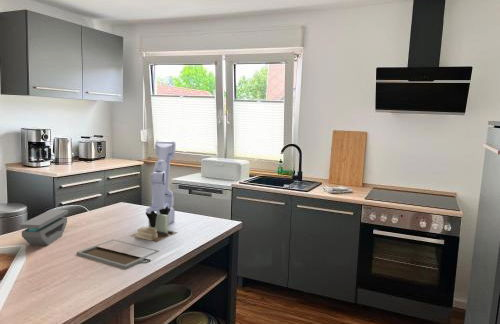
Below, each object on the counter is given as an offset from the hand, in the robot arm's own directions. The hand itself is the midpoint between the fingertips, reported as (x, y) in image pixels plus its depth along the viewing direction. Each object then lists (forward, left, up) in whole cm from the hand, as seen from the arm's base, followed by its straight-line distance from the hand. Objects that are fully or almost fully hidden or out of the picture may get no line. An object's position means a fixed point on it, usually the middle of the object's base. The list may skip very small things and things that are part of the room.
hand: (158, 224), depth 182 cm
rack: (+3, 0, -5) cm, 6 cm away
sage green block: (0, 0, -4) cm, 4 cm away
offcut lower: (+8, 0, -4) cm, 9 cm away
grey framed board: (+28, +4, -6) cm, 29 cm away
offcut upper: (+8, 0, -2) cm, 8 cm away
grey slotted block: (+32, -36, -5) cm, 49 cm away
